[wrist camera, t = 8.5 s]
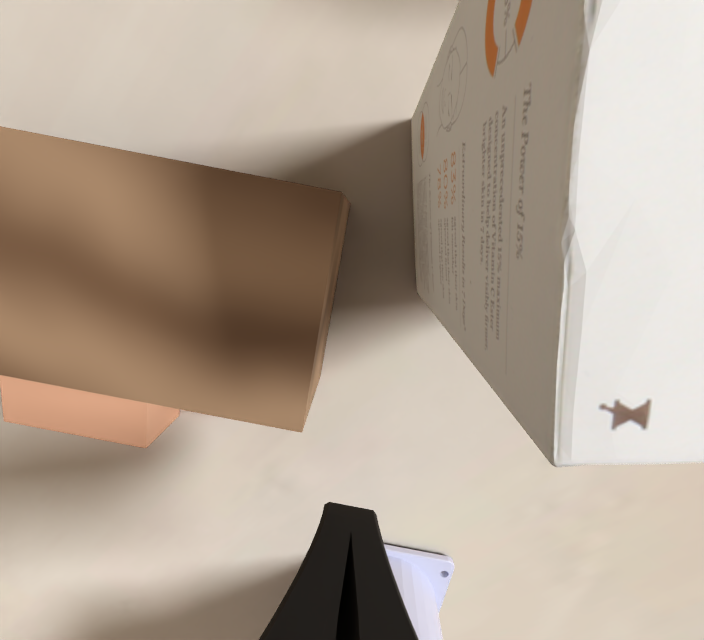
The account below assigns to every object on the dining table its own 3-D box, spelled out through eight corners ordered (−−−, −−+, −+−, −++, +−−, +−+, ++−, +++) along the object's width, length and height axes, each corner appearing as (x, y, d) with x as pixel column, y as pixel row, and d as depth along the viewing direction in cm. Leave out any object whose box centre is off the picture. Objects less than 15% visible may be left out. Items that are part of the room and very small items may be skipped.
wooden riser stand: (320, 376, 18) (301, 432, 13) (-83, 299, 18) (-252, 326, 13) (350, 203, 16) (341, 191, 11) (-112, 114, 16) (-332, 62, 11)
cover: (179, 415, 19) (146, 448, 17) (58, 392, 19) (3, 421, 17) (187, 277, 17) (150, 287, 14) (51, 251, 17) (-13, 256, 14)
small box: (546, 286, 17) (1096, 468, 4) (414, 295, 17) (543, 484, 4) (559, 98, 15) (1755, -715, 2) (409, 113, 15) (620, -482, 2)
